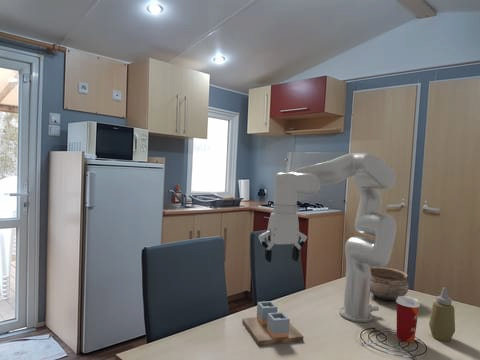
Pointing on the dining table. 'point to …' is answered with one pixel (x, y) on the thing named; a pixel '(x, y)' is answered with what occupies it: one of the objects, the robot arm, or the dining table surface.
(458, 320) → the dining table surface
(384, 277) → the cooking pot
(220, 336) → the dining table surface
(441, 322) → the squeeze bottle
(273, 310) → the sleeve
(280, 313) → the sleeve
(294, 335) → the pin board
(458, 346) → the dining table surface
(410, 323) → the paper cup
